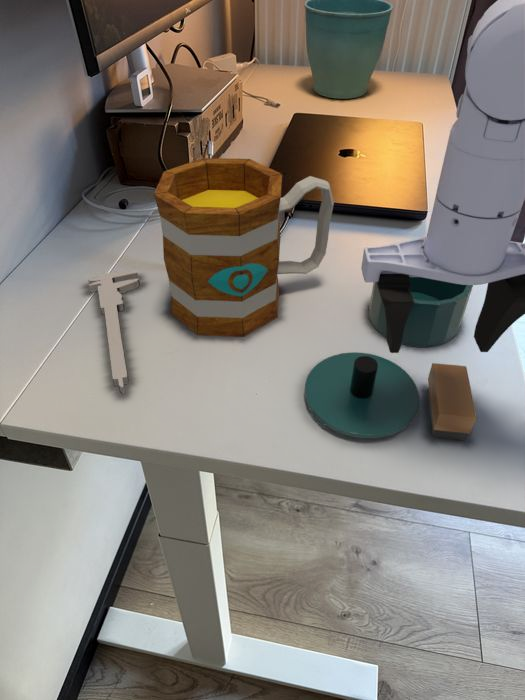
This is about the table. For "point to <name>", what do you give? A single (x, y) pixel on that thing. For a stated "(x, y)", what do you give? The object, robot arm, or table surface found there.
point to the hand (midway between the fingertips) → (436, 344)
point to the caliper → (115, 316)
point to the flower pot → (344, 44)
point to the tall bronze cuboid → (450, 401)
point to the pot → (426, 311)
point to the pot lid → (361, 395)
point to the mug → (230, 242)
